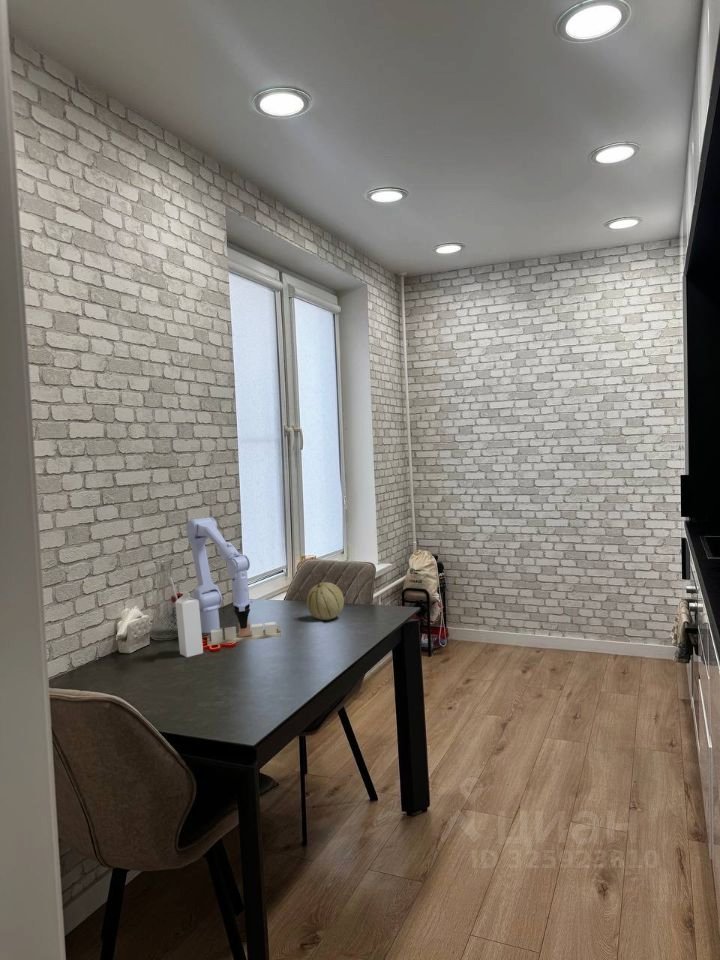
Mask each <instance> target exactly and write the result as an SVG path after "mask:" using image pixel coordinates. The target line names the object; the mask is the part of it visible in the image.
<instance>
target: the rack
mask: <svg viewBox="0 0 720 960" xmlns="http://www.w3.org/2000/svg"><path fill="white" fill-rule="evenodd" d="M280 626H281V625H279V626H278V625H276V629H277V633H276V634H268V635H266V634H265V629H263V635H260V636H252V630H250V632H251V635H248V636H240V637H239V632H236V634H237V638H236V639H228V640H225V633H223V640H220V641H212V640H211V634H207V639H206V641H207V642H206V643H207V646H214V645H215V646H216V645H223V644H229V643H230V644H231V643H232V644H233V643H238V642H239V643H240V642H247V641H255V640H261V639H262V640H263V639H264V640H265V639H271V638H278V637H282V632H281V631H282V630H281V627H280Z"/></svg>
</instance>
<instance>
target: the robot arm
mask: <svg viewBox="0 0 720 960" xmlns="http://www.w3.org/2000/svg"><path fill="white" fill-rule="evenodd" d="M185 529H186V535H187V540H188V542H189V543H190V547H191V553H192V559H193V565H194V570H195V573H196V580H197V584H198V585H197V586H196V588H195V589H194V590H193V591H192V595H193V599H196V600H198V601H199V611H200V622H201V633H203V634H211V629H219V628H221V627H220V617H219V616H220V615H219V608H220V607H221V606H220V605H222V602H223V596H222V593H221V592H220V589H219V586H218V585H217V584H215V583H214V582H213V580H212V576H211V569H210V564H209V558H208V554H207V550H206V549H207V548H206V541H207V539H209V540H210V541H211V542H212V543H213V544H214V545H215V546H216V547H217V548H218V549H217V552H218V554H219V556H220V557H221V558H222V559H223V561H224V562H225V563H226V564H227V565H226V569H227V571H228V573H229V578H230V579H231V589H232V600H233V602H232V605H233V607H234V610H233V612H234V613H235V615H236V617H237V620H238V626H239V625H240V628H241V629H244V628H247V622H248V620H249V614H250V612H251V608H250V606H251V605H250V604H253V602H254V601H253V599H250V593H249V581H248V570H249V569H250V566H251V565H250V564H251V562H250V560H249V558H248V556H247V555H246V554H242V553H240V552H239V551H238V550H237V549H236V548H235V546H234V545H233V544H232V543H231V542H230V541H229V542H227V541H226V540H225V538H224V537H223V535H222V534H221V532H220V530H219V529H218V524H217V521H216V520H215V518H214V517H213V516H208V517H203V518H202V517H200V518H196V519H193V518H192V519H190V520H189V519H188V521H187V524H186V525H185Z"/></svg>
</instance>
